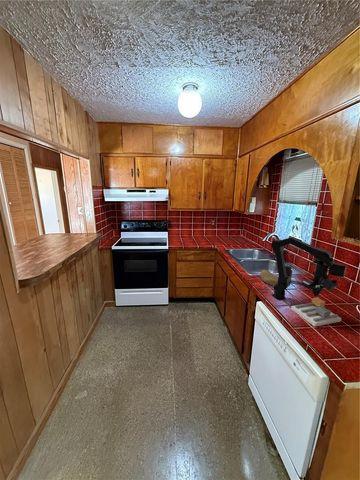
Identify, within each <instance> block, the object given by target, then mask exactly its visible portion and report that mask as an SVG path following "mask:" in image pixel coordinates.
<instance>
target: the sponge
mask: <svg viewBox="0 0 360 480" xmlns="http://www.w3.org/2000/svg"><path fill="white" fill-rule="evenodd" d="M259 275H260V279H261V280H262V281H264V282H265V283H267V284H269V285H271V286H273V287H274V286H275V285H276V284H277V283H278V277H277V276H276V275H275V274H273V273H272V272H271V271H270V270H266V269H263V270H261V271H260V273H259Z"/></svg>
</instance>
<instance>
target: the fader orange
mask: <svg viewBox="0 0 360 480" xmlns="http://www.w3.org/2000/svg"><path fill="white" fill-rule="evenodd" d="M311 303H313V304H315V306H316V307H321V306H322V307H323V306H324V307H325V305H326V301H324V300H322V299H321V298H320V297H313V298H312V299H311Z"/></svg>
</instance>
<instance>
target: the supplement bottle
mask: <svg viewBox="0 0 360 480" xmlns="http://www.w3.org/2000/svg"><path fill="white" fill-rule="evenodd" d="M285 268H286V274H287V276H288V277H291V279H292V277H293V269H292V268H293V267H292V265H289V264H285Z"/></svg>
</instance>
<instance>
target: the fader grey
mask: <svg viewBox="0 0 360 480" xmlns="http://www.w3.org/2000/svg"><path fill="white" fill-rule="evenodd" d="M324 307H325V306H324ZM324 307H322V306H321V307H316V312H317V313H318V314H319V315H320V316H321V317H327V316H330V312H332V311H331V310H330V309H327V308H326V307H325V308H324ZM329 310H330V311H329Z"/></svg>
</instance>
